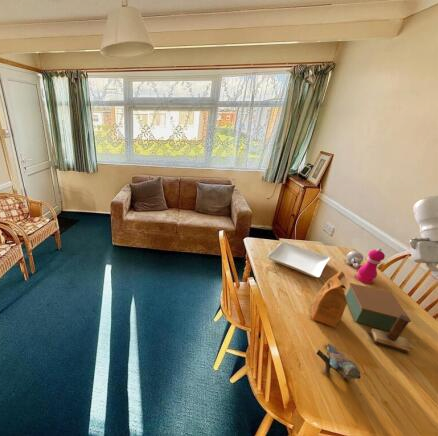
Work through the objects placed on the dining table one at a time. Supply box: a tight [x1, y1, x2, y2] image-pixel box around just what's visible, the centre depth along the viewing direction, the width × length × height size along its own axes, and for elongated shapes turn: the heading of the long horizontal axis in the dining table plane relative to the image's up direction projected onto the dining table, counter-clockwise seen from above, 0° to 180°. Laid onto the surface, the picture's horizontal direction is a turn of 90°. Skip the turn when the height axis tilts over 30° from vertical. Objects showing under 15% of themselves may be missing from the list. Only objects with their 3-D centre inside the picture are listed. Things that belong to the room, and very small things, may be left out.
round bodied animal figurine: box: [344, 250, 364, 269], centre depth 132 cm, size 7×12×8 cm, turn 146°
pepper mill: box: [356, 247, 386, 284], centre depth 119 cm, size 7×7×20 cm
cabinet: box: [345, 282, 412, 332], centre depth 101 cm, size 16×17×8 cm
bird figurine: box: [315, 343, 362, 380], centre depth 78 cm, size 13×10×20 cm
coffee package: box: [310, 270, 348, 328], centre depth 97 cm, size 10×12×22 cm
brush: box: [370, 315, 413, 354], centre depth 87 cm, size 10×5×14 cm, turn 64°
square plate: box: [266, 241, 331, 278], centre depth 138 cm, size 27×27×4 cm
